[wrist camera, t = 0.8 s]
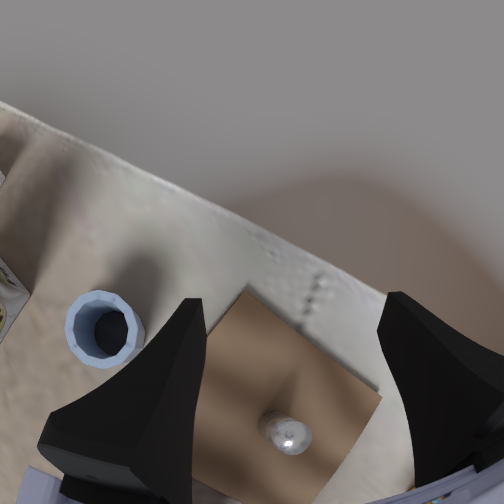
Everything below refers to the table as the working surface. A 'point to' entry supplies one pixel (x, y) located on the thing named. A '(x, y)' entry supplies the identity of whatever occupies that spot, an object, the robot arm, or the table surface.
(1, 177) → the white cube
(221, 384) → the walnut board
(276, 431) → the silver metal canister
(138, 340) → the collar
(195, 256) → the table surface
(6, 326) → the coffee box
